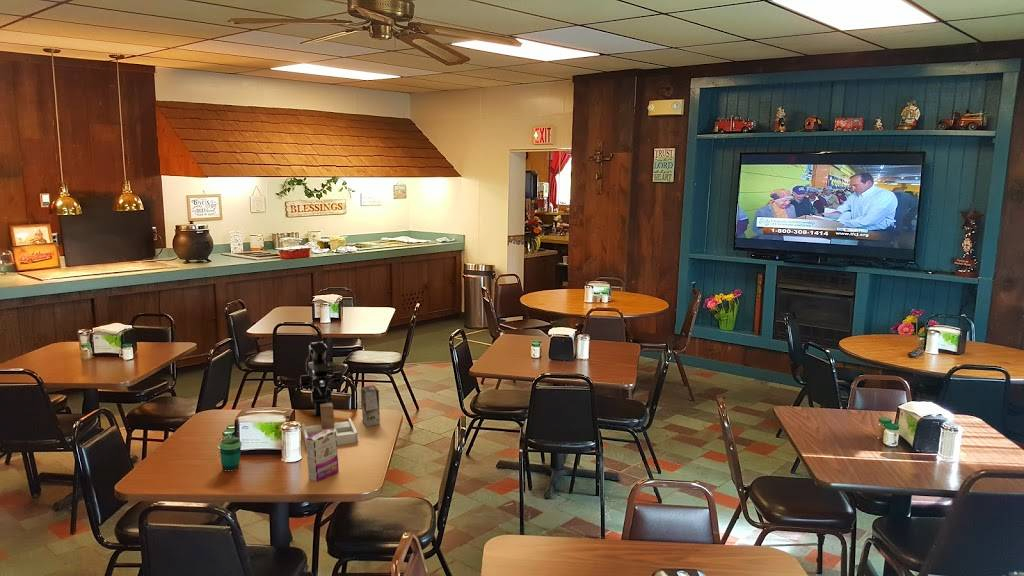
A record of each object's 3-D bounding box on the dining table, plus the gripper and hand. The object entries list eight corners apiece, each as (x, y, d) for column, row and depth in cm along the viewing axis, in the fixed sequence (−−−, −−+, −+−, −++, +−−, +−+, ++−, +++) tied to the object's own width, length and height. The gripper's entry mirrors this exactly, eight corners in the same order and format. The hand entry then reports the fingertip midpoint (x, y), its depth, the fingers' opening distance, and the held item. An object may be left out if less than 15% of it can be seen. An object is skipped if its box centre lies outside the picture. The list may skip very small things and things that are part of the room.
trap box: (302, 432, 319) (302, 423, 318) (350, 426, 326) (350, 417, 326) (306, 449, 299) (306, 440, 299) (357, 442, 307) (357, 433, 306)
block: (321, 425, 320) (320, 404, 318) (332, 424, 322) (331, 402, 320) (322, 429, 315) (321, 407, 314) (334, 428, 317) (333, 406, 315)
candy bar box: (329, 469, 279) (327, 428, 276) (339, 471, 276) (336, 430, 274) (307, 479, 269) (305, 437, 267) (317, 482, 267) (314, 440, 264)
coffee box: (380, 424, 328) (379, 390, 326) (366, 426, 326) (365, 392, 323) (375, 418, 337) (374, 385, 334) (361, 420, 334) (360, 386, 331)
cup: (238, 463, 285) (235, 434, 283) (247, 469, 280) (245, 439, 278) (217, 469, 280) (215, 440, 278) (226, 475, 274) (224, 445, 272)
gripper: (299, 358, 327) (302, 388, 319) (341, 354, 333) (345, 384, 325) (298, 371, 336) (302, 400, 327) (339, 366, 342) (344, 395, 334)
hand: (323, 395), depth 328 cm, fingers closed
